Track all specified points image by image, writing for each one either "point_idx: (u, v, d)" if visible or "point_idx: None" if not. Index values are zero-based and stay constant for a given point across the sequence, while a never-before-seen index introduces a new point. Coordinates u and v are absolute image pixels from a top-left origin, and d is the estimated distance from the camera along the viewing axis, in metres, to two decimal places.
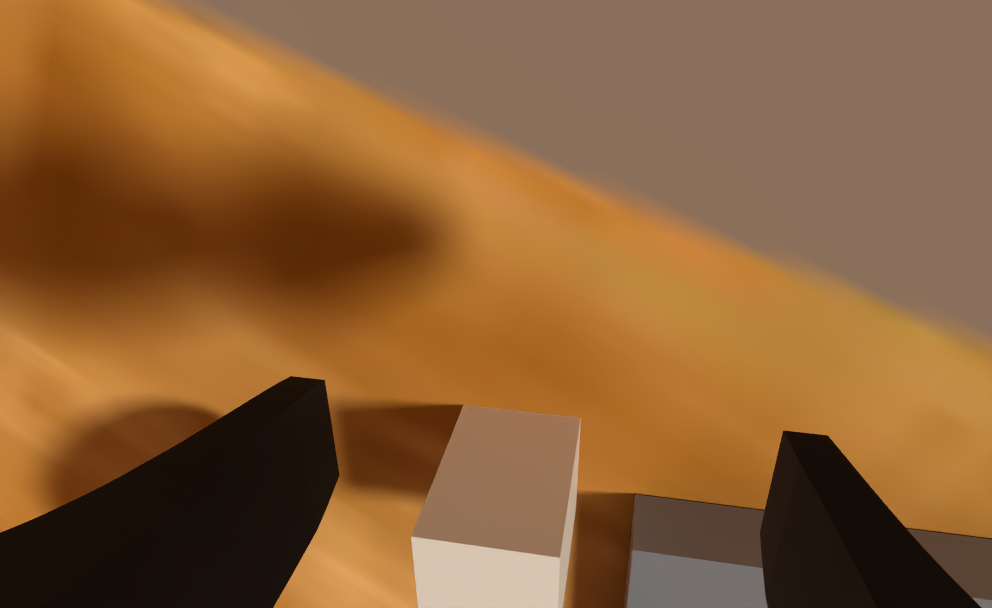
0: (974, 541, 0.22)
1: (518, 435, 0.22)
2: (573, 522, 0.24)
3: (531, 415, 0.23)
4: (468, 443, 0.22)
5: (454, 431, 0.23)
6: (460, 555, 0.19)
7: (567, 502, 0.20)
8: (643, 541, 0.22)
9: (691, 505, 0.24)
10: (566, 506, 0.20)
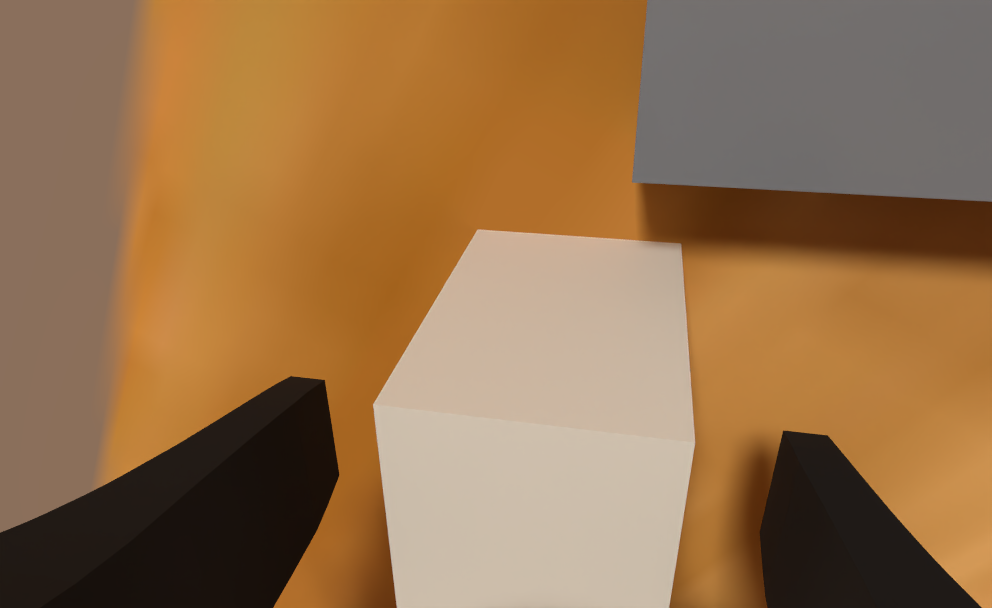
0: None
1: None
2: (662, 266, 0.12)
3: None
4: None
5: None
6: (420, 557, 0.10)
7: (422, 327, 0.11)
8: None
9: None
10: (417, 333, 0.11)
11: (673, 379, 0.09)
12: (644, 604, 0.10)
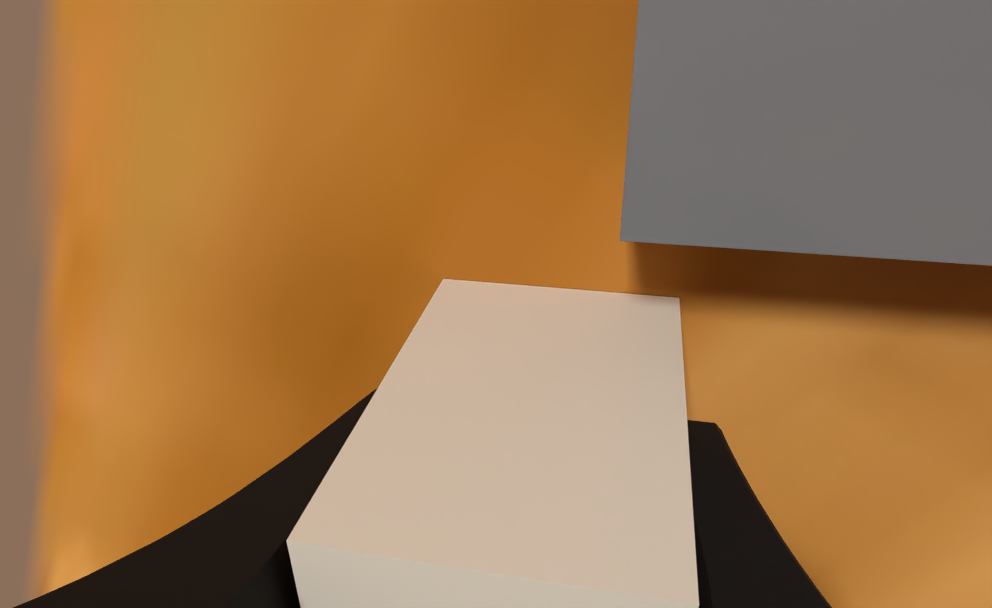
0: None
1: None
2: (657, 329, 0.11)
3: None
4: None
5: None
6: None
7: (364, 418, 0.09)
8: None
9: None
10: (356, 427, 0.09)
11: (670, 499, 0.07)
12: None
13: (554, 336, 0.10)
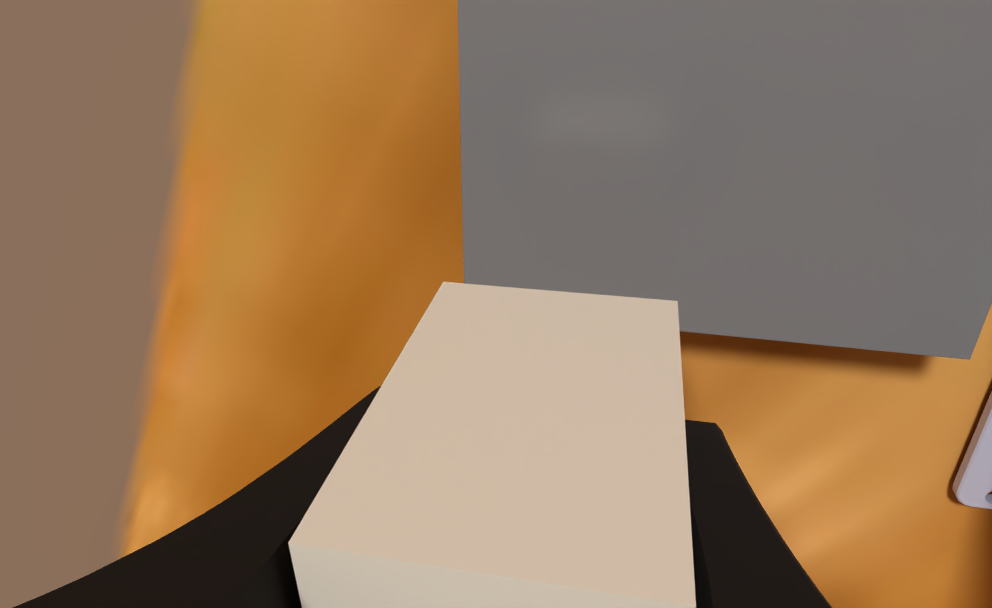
0: None
1: None
2: (656, 333, 0.11)
3: None
4: None
5: None
6: None
7: (364, 421, 0.09)
8: None
9: None
10: (357, 430, 0.09)
11: (667, 501, 0.07)
12: None
13: (553, 339, 0.10)
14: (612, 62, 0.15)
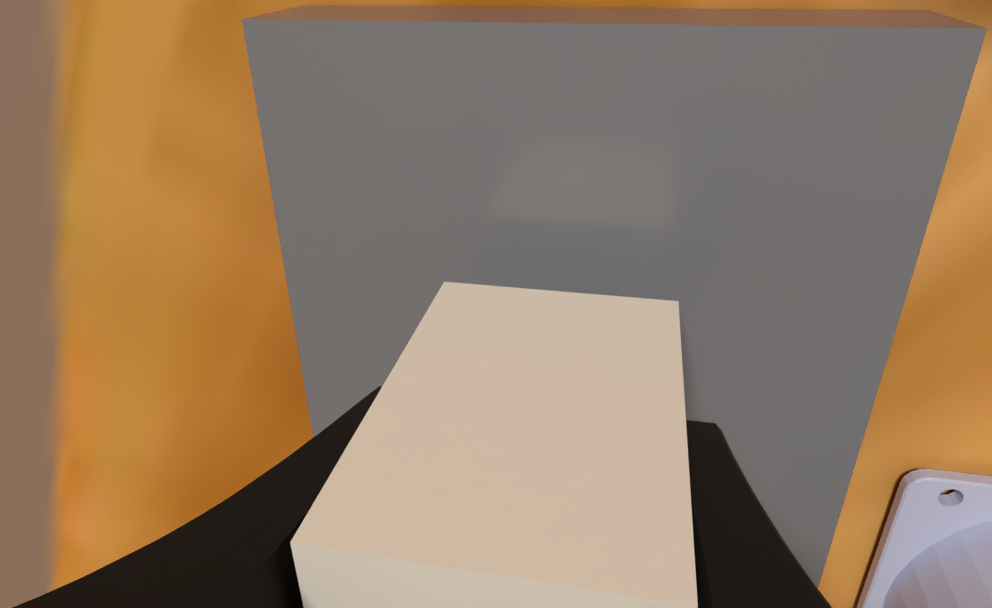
0: None
1: None
2: (656, 333, 0.11)
3: None
4: None
5: None
6: None
7: (366, 420, 0.09)
8: None
9: None
10: (358, 430, 0.09)
11: (669, 501, 0.08)
12: None
13: (554, 339, 0.10)
14: None
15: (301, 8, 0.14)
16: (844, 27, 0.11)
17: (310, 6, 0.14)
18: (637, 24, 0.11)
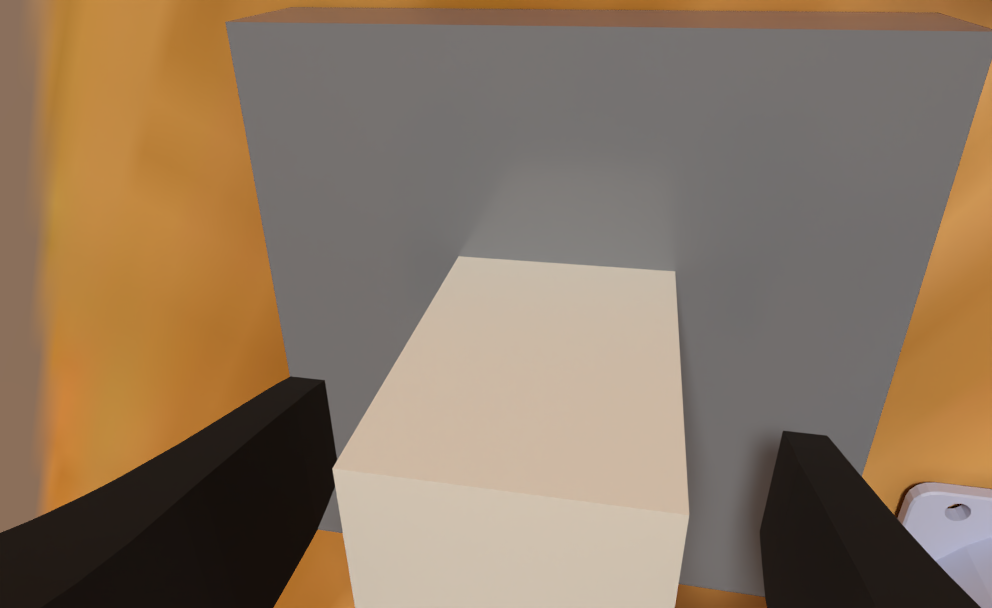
0: None
1: None
2: (655, 298, 0.12)
3: None
4: None
5: None
6: None
7: (393, 372, 0.10)
8: None
9: None
10: (386, 380, 0.10)
11: (665, 434, 0.08)
12: None
13: (561, 304, 0.11)
14: None
15: (288, 10, 0.14)
16: (851, 30, 0.10)
17: (298, 8, 0.14)
18: (635, 27, 0.11)
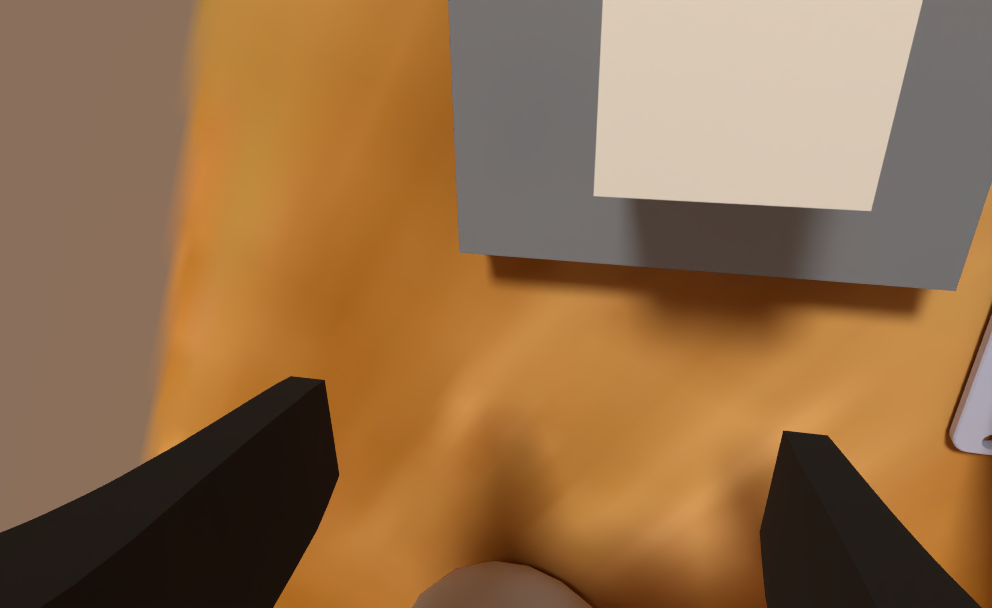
0: None
1: None
2: None
3: None
4: None
5: None
6: (629, 111, 0.10)
7: None
8: None
9: None
10: None
11: None
12: (864, 133, 0.10)
13: None
14: None
15: None
16: None
17: None
18: None
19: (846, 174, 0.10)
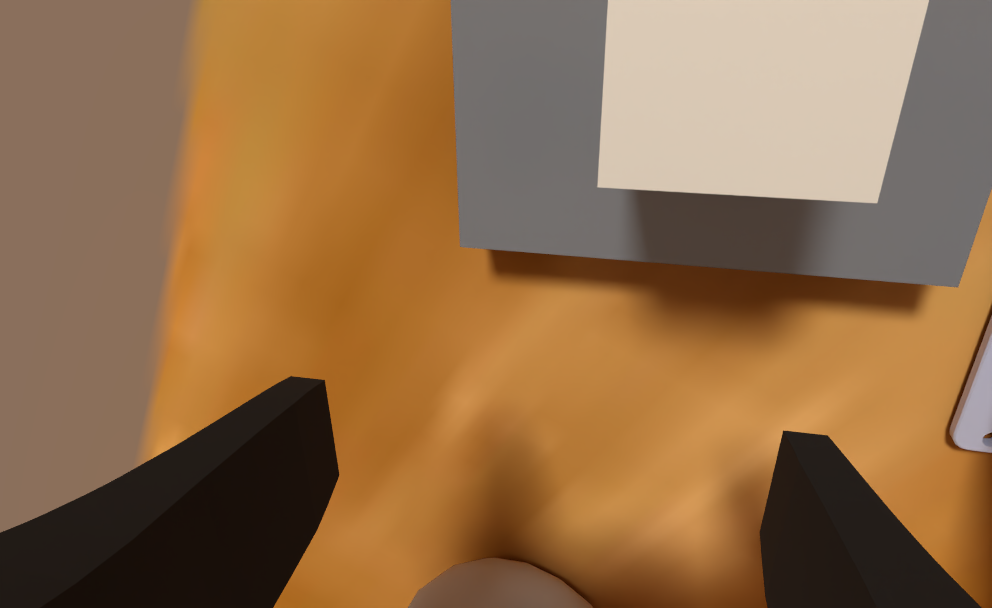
0: None
1: None
2: None
3: None
4: None
5: None
6: (634, 101, 0.10)
7: None
8: None
9: None
10: None
11: None
12: (871, 124, 0.10)
13: None
14: None
15: None
16: None
17: None
18: None
19: (852, 166, 0.10)
